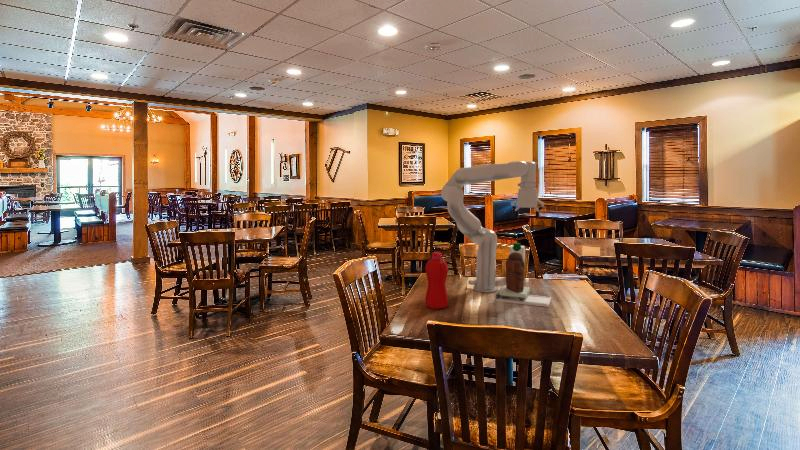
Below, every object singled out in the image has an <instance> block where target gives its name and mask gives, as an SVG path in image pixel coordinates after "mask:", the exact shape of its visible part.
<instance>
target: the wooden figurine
mask: <svg viewBox="0 0 800 450" xmlns="http://www.w3.org/2000/svg"><path fill="white" fill-rule="evenodd" d="M505 263H506V265H505V285H506V287H507V288H508V289H510V290H512V291H515V292H522V291H523V290H524V287H525V286H524V285H525V284H524V282H525V280H524V279H525V277H524V273H525V272H524V271H525V268H524V269H523V268H522V265H523V257H522V255H521V254H520V253H517V252H513V253H511V254H510V255H509V254H508V258H507V259H506V262H505Z"/></svg>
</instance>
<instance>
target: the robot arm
mask: <svg viewBox="0 0 800 450" xmlns="http://www.w3.org/2000/svg"><path fill="white" fill-rule="evenodd" d="M519 177H520V183H517V187H520V188H518V191H517V199H515V200H513V201H511V202H510V205H511V208H512V209H513V210H514V211H515V215H514V216H515V217H516V219H518V220H519V218H520V211H519V210H520V209H522V208H523V209H535V220H538V219H539V218H540V211H542V210H543V208H544V206H545V205H546V203H545V202H544V201H541V200H540V199H539V195H538V189H537V188H536V187H537V186H536V183H537V182H536V181H537V163H536V162H535V161H522V160H520V161H519V160H518V161H517V160H516V161H510V162H507V163H487V164H481V165H477V166H476V165H475V166H470V167H469V166H468V167H461V168H460V167H459V168H458V169H456V170H455V172H454V173H453V174H452V175H451V177H450V178H449V179H448V180H447V182H446V183H445V184H444V185H443V186H442V188H441V190H440V196H441V199H442V200H443V201H445V202H446V203H447V212H448V214H449V215H450V217H451V218H452V219H453V220H454V222H456V227H457V229H458V230H459V231H460V233H462V234H463V235H464V236H465V237H466V238H467V239H469V240H470V241H471V242H472V243H473V244H475V245H477V246H478V247H477V251H476V272H475V273H476V276H475V277H476V279H475V280H472V279H468V285H471V286H472V285H473V287H472V288H473V290H474V291H476V292H478V293H479V292H480V293H494V292H498V291H499V287H498V286H496V256H497V255H496V253H497V252H496V251H497V248H498V247H497V246H498V237H497V233H496V232H495V231H493V230H492V229H490V228H487V227H486V228H485V227H483V226H482V222H481V221H480V219H479V218H478V217H476V216H475V215H474V214H473V213H472V212H471V211H470V210H469V209H468V208H467V207H466V206H465V204H464V197H465V195H464V190H463V189H462V188H463V187H464V186H465V185H475V184H480V183H486V182H495V181H500V180H506V179H507V180H508V179H514V178H519ZM515 203H516V206H515ZM539 204H540V206H538V205H539Z"/></svg>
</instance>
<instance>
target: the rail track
mask: <svg viewBox="0 0 800 450" xmlns="http://www.w3.org/2000/svg"><path fill="white" fill-rule="evenodd" d="M502 288H503V287H501V288H499V289H498V290H497V291H496V293H495V299H494V300H495V302H499V303H500V302H502V303H511V304H519V305H527V306H528V305H529V306H537V307H544V308H549V306H550V303H551V301H552V296H545V295H535V294H533V295H532V294H528V295H527V296H526V298H525V299H524V300H519V298H518V297H512V296H507V298H505V299H503V298H502V297H501V295H499V292H500V291H501V289H502Z"/></svg>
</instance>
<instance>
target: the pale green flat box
mask: <svg viewBox="0 0 800 450" xmlns="http://www.w3.org/2000/svg"><path fill="white" fill-rule="evenodd" d="M500 289H501V288H500ZM530 291H531V287H530V286H524V290H523V291H522V292H515V291H512V290H510V289H508V288H507V287H506V284H505V285H504V286H503V287H502V289H501V291H500V292H499V295H501V297H502V298H503V299H505V298H507V296H512V297H518V298H519V300H524V299H525V298H526V296H527V295H529V293H530Z"/></svg>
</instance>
